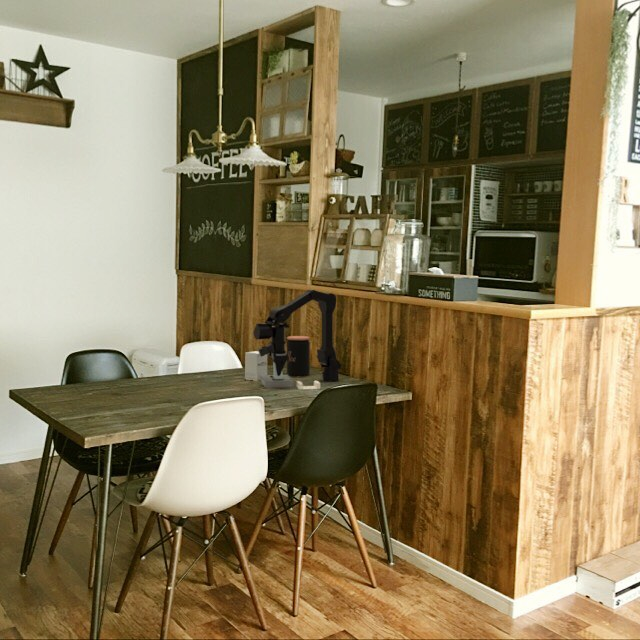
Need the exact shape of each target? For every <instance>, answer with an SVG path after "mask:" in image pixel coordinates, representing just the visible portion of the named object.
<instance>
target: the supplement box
mask: <svg viewBox="0 0 640 640" xmlns="http://www.w3.org/2000/svg"><path fill="white" fill-rule="evenodd" d="M244 354H245V356H244V358H245V360H244V364H245V365H244V380H245V379H246V381H250V380H253V382H258V381H259V380H260V381H261V375H268V354H266V355H264V356H260V354H259V351H258V350H255V351H247V352H244ZM260 381H259V382H260Z"/></svg>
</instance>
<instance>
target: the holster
mask: <svg viewBox="0 0 640 640" xmlns="http://www.w3.org/2000/svg"><path fill="white" fill-rule="evenodd" d="M295 384H296V386H295V387H296V388H297V389H298V390H320V389H321V382H320V381H318V380H313V385H304V384H303V382H302V381H300V380H296V381H295Z"/></svg>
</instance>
